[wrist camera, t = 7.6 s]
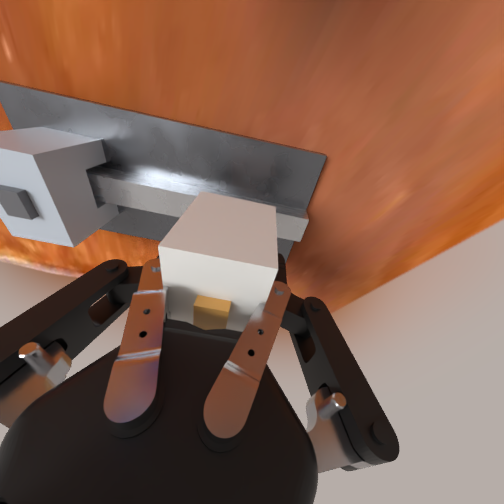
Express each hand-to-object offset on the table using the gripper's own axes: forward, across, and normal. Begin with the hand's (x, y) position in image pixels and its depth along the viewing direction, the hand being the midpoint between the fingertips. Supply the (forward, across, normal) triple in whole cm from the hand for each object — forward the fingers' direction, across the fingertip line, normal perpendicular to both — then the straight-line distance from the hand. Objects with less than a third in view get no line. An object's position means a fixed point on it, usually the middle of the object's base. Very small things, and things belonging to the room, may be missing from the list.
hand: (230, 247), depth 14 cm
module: (+1, 0, 0) cm, 1 cm away
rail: (+7, +7, 0) cm, 10 cm away
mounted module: (+7, +15, 0) cm, 16 cm away
